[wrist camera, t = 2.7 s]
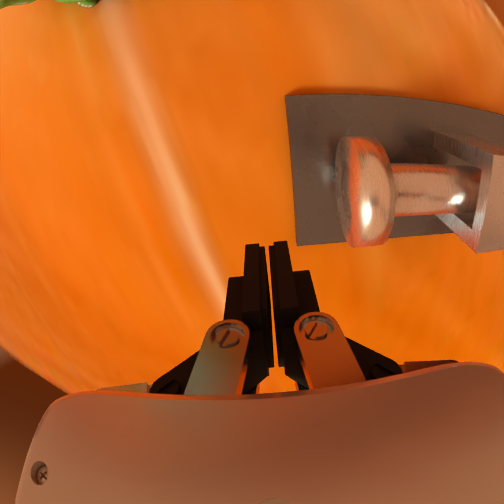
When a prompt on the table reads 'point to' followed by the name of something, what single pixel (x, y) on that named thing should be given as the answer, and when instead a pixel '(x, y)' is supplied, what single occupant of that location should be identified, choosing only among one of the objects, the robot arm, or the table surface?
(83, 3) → the turtle holder
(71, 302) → the table surface
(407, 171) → the door knob
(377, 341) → the table surface
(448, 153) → the bearing housing
